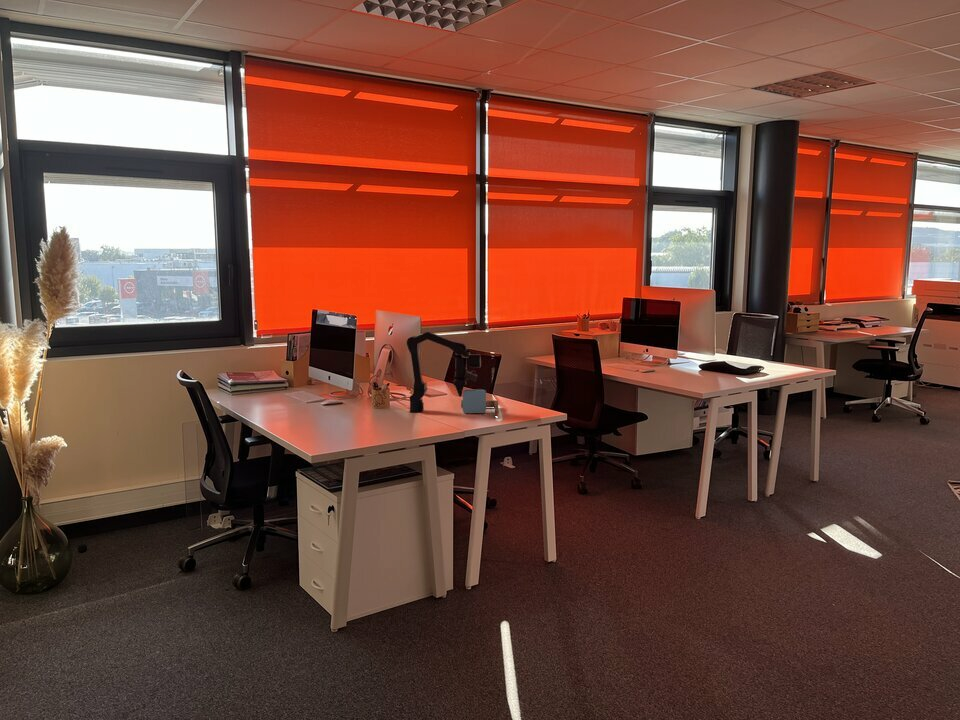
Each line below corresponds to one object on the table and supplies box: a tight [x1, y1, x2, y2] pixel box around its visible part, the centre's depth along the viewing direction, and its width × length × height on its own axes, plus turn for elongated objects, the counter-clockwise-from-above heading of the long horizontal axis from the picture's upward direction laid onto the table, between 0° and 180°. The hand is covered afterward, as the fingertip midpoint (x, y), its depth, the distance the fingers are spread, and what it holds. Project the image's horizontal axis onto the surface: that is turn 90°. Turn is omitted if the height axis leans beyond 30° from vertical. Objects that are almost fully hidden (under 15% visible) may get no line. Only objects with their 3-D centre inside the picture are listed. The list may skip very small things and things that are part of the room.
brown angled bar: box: [460, 399, 499, 417], centre depth 366 cm, size 20×25×4 cm
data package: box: [462, 389, 487, 414], centre depth 364 cm, size 12×4×12 cm, turn 89°
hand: (460, 396), depth 364 cm, fingers closed, pressing on data package
